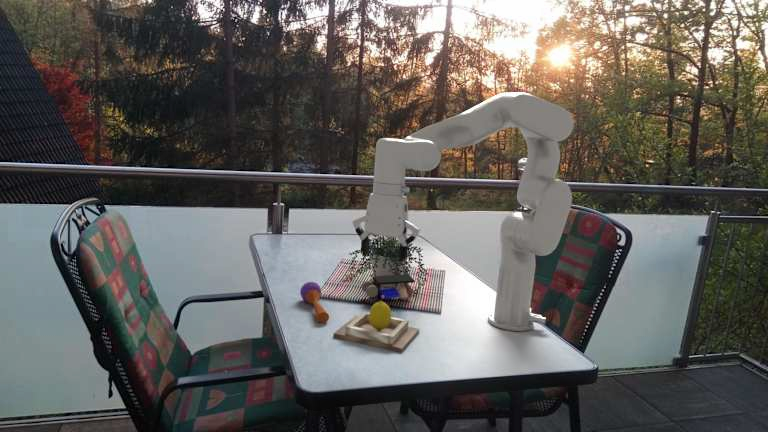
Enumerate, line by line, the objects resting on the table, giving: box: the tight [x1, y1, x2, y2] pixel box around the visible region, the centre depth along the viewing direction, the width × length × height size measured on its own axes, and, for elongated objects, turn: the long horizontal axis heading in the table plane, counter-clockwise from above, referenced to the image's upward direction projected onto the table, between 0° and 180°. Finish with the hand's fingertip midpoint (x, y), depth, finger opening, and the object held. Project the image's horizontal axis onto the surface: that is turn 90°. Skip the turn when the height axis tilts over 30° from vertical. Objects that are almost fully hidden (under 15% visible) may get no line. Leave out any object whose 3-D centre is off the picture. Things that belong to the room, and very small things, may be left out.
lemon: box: [369, 300, 392, 331], centre depth 139 cm, size 6×6×8 cm
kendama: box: [299, 281, 330, 324], centre depth 154 cm, size 6×6×20 cm
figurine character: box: [360, 273, 416, 303], centre depth 167 cm, size 7×8×15 cm
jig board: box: [333, 311, 420, 353], centre depth 140 cm, size 18×14×3 cm
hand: (383, 257), depth 137 cm, fingers open, 9 cm apart
